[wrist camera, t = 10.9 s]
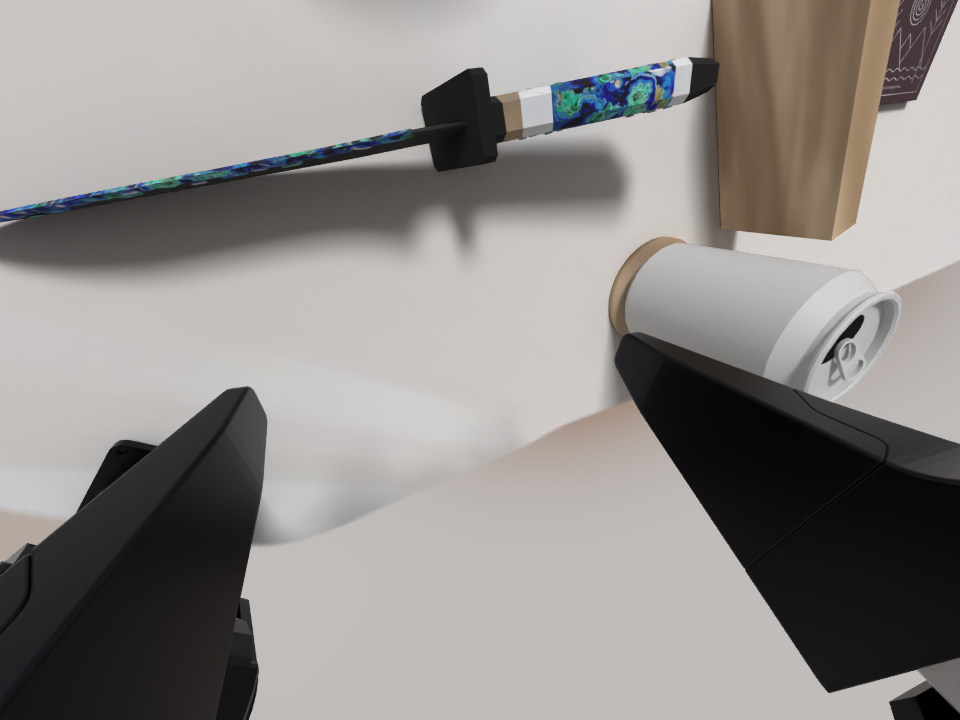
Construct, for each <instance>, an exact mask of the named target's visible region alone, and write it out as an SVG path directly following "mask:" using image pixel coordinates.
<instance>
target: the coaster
mask: <svg viewBox="0 0 960 720" xmlns="http://www.w3.org/2000/svg"><path fill="white" fill-rule="evenodd" d="M674 243H686V242H684V241H682V240H680V239H677V238H672V237H660V238H656V239H653V240H651V241H649V242H647V243H645V244H644V245H642V246H641V247H639V248H638V249H637V250H636V251H635V252H634V253H633V254H632V255H631V256H630V257H629V258H628V259H627V261H626V262H625V263H624V265H623V266H622V268H621V269H620V271H619V273H618V275H617V277H616V279H615V281H614V284H613V287H612V290H611V295H610V301H609V314H610V319H611V322H612V325H613V327H614V328H615V330H616V331H617V332H618V333H619V334H620V335H622V336H623V335H624V334H626V333H630V332H629V330H628V327H627V324H626V321H625V298H626V294H627V291H628V287H629V285H630V283H631V281H632V279H633V277H634V275H635V274H636V273H637V271H638V270H639V269H640V268H641V266H642V265H643V264H644V263H646V262H647V261H648V259H649V258H650V257H652V256H653V255H654V254H656V253H657V252H658V251H659V250H661V249H662V248H664V247H667V246H669V245H672V244H674Z"/></svg>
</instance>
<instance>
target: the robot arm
mask: <svg viewBox="0 0 960 720" xmlns="http://www.w3.org/2000/svg"><path fill="white" fill-rule="evenodd" d="M614 361H615V366H616V368H617V370H618V372H619V374H620V376H621V377H622V379H623V381H624V383H625V385H626V387H627V389H628V391H629V393H630V394H631V396H632V398H633V400H634V402H635V404H636V406H637V407H638V409H639V411H640V413H641V414H642V416H643V417H644V419H645V420H646V422H647V423H648V425H649V426H650V428H651V429H652V431H653V432H654V434H655V435H656V437H657V438H658V440H659V441H660V443H661V444H662V446H663V447H664V449H665V450H666V452H667V453H668V455H669V456H670V458H671V459H672V461H673V462H674V464H675V465H676V467H677V468H678V470H679V471H680V473H681V474H682V476H683V477H684V479H685V480H686V482H687V483H688V485H689V486H690V488H691V489H692V491H693V492H694V494H695V495H696V497H697V498H698V500H699V501H700V503H701V504H702V506H703V507H704V509H705V510H706V512H707V513H708V515H709V516H710V518H711V520H712V521H713V523H714V524H715V525H716V527H717V528H718V530H719V532H720V533H721V535H722V536H723V538H724V539H725V541H726V542H727V544H728V545H729V546H730V548H731V550H732V551H733V553H734V554H735V556H736V557H737V559H738V560H739V561H740V563H741V564H742V566H743V567H744V568H745V571H746V573H747V574H748V576H749V577H750V579H751V580H752V582H753V583H754V585H755V586H756V588H757V589H758V591H759V592H760V594H761V595H762V597H763V598H764V600H765V601H766V602H767V604H768V606H769V607H770V609H771V610H772V612H773V613H774V615H775V616H776V618H777V619H778V621H779V622H780V624H781V625H782V627H783V628H784V630H785V631H786V633H787V634H788V636H789V637H790V639H791V640H792V642H793V643H794V645H795V646H796V648H797V649H798V651H799V652H800V654H801V655H802V657H803V658H804V660H805V661H806V663H807V664H808V666H809V667H810V669H811V670H812V672H813V673H814V675H815V676H816V678H817V679H818V681H819V682H820V683H821V685H822V686H823V687H824V688H825V690H826V691H827V692H828V693H832V692H836V691H840V690H843V689H847V688H851V687H854V686H858V685H861V684H866V683H869V682H873V681H876V680H880V679H884V678H888V677H891V676H895V675H899V674H903V673H906V672H910V671H914V670H917V671H918V672H919V673H920V674H921V675H922V676H923V677H924V678H925V679H926V681H924V682H923V683H921V684H919V685H917V686H916V687H914V688H912V689H910V690H909V691H907V692H905V693H904V694H902V695H900V696H899V697H897V698H895V699H893V700H892V701H890V702H889V703H890V706H891V709H892V713H893V716H894V719H895V720H960V444H959V443H955V442H952V441H948V440H945V439H942V438H939V437H936V436H933V435H930V434H927V433H924V432H921V431H918V430H914V429H911V428H908V427H905V426H902V425H899V424H896V423H893V422H890V421H887V420H884V419H881V418H878V417H875V416H872V415H869V414H866V413H863V412H859V411H856V410H854V409H851V408H848V407H845V406H842V405H839V404H836V403H833V402H831V401H828V400H825V399H822V398H819V397H816V396H814V395H811V394H808V393H805V392H803V391H800V390H797V389H794V388H793V389H791V388H790V387H789V386H786V385H783V384H781V383H778V382H775V381H773V380H770V379H767V378H764V377H762V376H759V375H756V374H754V373H751V372H748V371H745V370H743V369H740V368H737V367H734V366H732V365H729V364H726V363H724V362H721V361H718V360H715V359H713V358H710V357H707V356H705V355H702V354H699V353H696V352H694V351H691V350H688V349H685V348H683V347H680V346H677V345H675V344H672V343H669V342H666V341H664V340H661V339H658V338H656V337H653V336H650V335H647V334H645V333H642V332H632V333H626V334H624V335H623V337H622V338H621V341H620V344H619V347H618V349H617V352H616V355H615V359H614ZM266 435H267V417H266V414H265V411H264V409H263V407H262V405H261V403H260V401H259V399H258V397H257V395H256V393H255V392H254V390H253V389H252V388H251V387H248V386H246V387H239V388H232V389H228V390H226V391H224V392H223V393H222V394H221V395H219V396H218V397H217V398H216V399H214V400H213V401H212V402H211V403H210V404H208V405H207V406H206V407H205V408H204V409H202V410H201V411H200V412H199V413H197V414H196V415H195V416H194V417H193V418H191V419H190V420H189V421H188V422H187V423H185V424H184V425H183V426H182V427H180V428H179V429H178V430H177V431H176V432H174V433H173V434H172V435H171V436H170V437H168V438H167V439H166V440H165V441H163V442H162V443H161V444H160V445H159V446H154V445H149V444H144V443H140V442H135V441H131V440H121V441H118V442H116V443H115V444H114V445H113V446H112V448H111V449H110V450H109V452H108V453H107V455H106V457H105V459H104V461H103V463H102V465H101V467H100V469H99V471H98V472H97V474H96V476H95V478H94V480H93V482H92V484H91V486H90V488H89V489H88V491H87V493H86V495H85V497H84V499H83V501H82V503H81V505H80V507H79V508H78V510H77V512H76V514H75V515H74V516H72V517H71V518H70V519H69V520H67V521H66V522H65V523H64V524H63V525H61V526H60V527H59V528H58V529H57V530H55V531H54V532H53V533H52V534H50V535H49V536H48V537H47V538H46V539H44V540H43V541H42V542H41V543H40V544H38V545H33V544H29V543H27V544H25V545H24V546H23V547H22V548H21V549H19V550H18V551H17V552H16V553H15V554H13V555H12V556H11V557H10V558H9V559H7V560H6V561H5V562H3V561H2V562H0V720H249V717H250V714H251V712H252V708H253V705H254V701H255V697H256V692H257V684H258V673H259V669H258V663H257V660H256V653H255V645H254V636H253V628H252V621H251V613H250V605H249V600H247V599H244V598H240V597H241V592H242V587H243V582H244V577H245V572H246V567H247V563H248V558H249V553H250V548H251V543H252V538H253V533H254V529H255V524H256V519H257V514H258V509H259V504H260V499H261V493H262V487H263V476H264V463H265V449H266ZM120 449H125V450H128V451H129V452H123V451H121V450H120Z"/></svg>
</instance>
